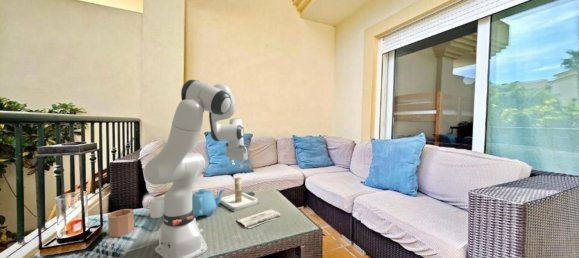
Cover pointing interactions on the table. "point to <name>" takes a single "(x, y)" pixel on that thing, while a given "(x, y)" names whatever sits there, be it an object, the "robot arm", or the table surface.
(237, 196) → the dowel
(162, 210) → the white cup
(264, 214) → the newspaper
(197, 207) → the teapot
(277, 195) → the table surface
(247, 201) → the tray
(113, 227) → the pot
